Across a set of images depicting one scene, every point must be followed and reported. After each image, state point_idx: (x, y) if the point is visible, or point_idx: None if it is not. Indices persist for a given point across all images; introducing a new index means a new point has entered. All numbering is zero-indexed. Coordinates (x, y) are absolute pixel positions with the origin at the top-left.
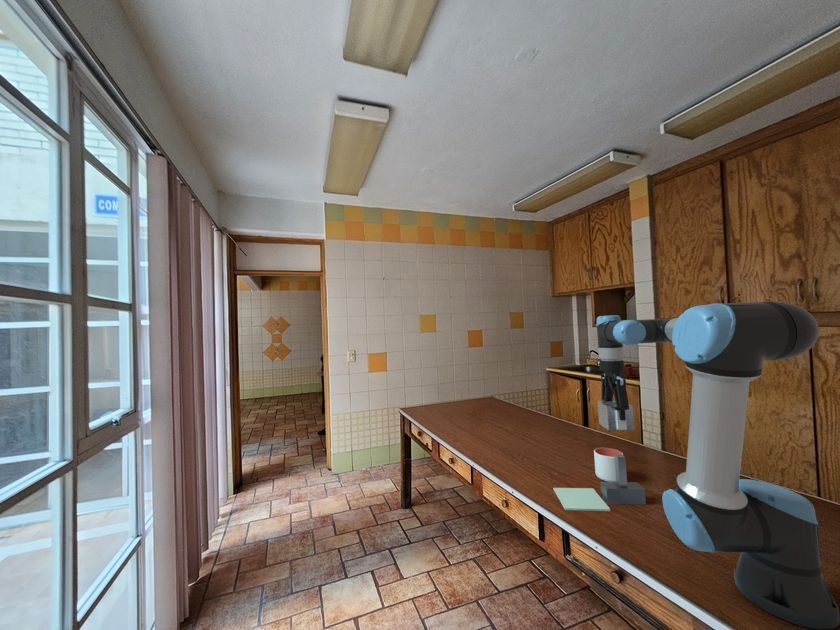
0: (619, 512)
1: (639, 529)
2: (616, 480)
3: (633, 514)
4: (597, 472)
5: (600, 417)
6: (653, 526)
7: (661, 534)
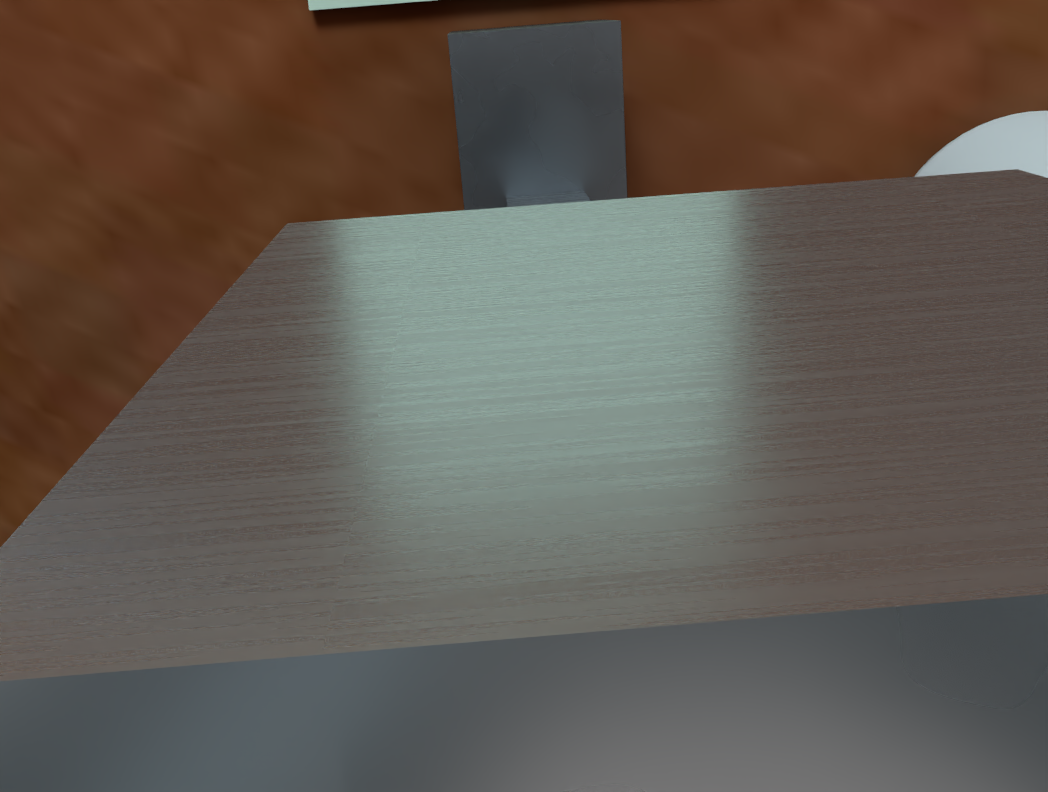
0: (307, 89)
1: (55, 156)
2: (586, 198)
3: (296, 201)
4: (1021, 120)
5: (984, 227)
6: (135, 286)
7: (29, 297)
